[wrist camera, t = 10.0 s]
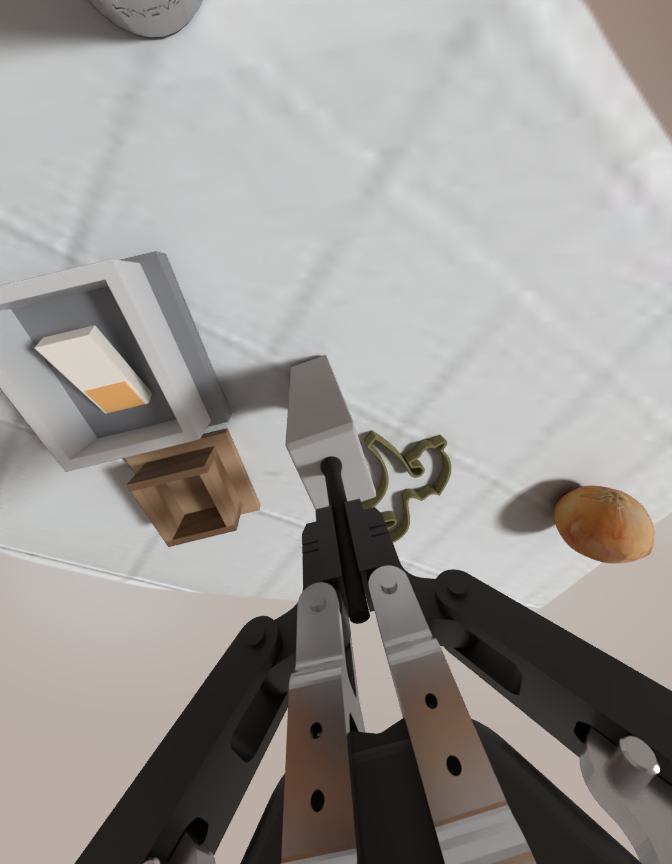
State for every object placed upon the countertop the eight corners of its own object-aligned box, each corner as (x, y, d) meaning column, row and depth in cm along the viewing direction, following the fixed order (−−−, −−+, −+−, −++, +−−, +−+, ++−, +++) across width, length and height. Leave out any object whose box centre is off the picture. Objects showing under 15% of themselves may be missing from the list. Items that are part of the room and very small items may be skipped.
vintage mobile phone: (307, 409, 32) (332, 688, 10) (290, 366, 30) (273, 603, 8) (340, 398, 32) (438, 655, 10) (325, 354, 30) (410, 560, 8)
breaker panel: (-11, 295, 25) (-96, 298, 19) (165, 253, 25) (129, 245, 19) (93, 447, 32) (52, 480, 26) (231, 414, 32) (218, 440, 26)
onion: (604, 460, 41) (689, 509, 32) (601, 511, 45) (675, 566, 37) (536, 486, 42) (601, 540, 33) (539, 533, 46) (598, 592, 37)
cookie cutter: (374, 414, 34) (378, 421, 32) (460, 439, 37) (468, 447, 35) (323, 529, 41) (325, 540, 39) (400, 543, 44) (404, 554, 42)
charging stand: (128, 452, 32) (101, 479, 28) (227, 428, 32) (216, 451, 28) (174, 525, 37) (158, 558, 33) (260, 504, 37) (255, 534, 33)
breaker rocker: (43, 337, 22) (33, 348, 21) (95, 325, 22) (87, 335, 21) (110, 403, 28) (105, 414, 27) (152, 393, 28) (148, 404, 27)
